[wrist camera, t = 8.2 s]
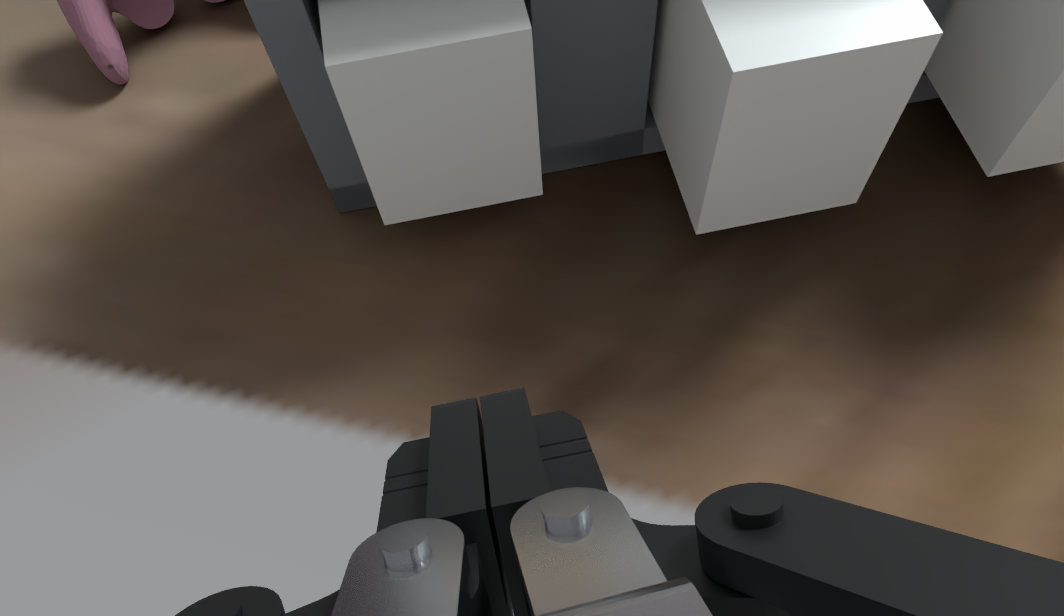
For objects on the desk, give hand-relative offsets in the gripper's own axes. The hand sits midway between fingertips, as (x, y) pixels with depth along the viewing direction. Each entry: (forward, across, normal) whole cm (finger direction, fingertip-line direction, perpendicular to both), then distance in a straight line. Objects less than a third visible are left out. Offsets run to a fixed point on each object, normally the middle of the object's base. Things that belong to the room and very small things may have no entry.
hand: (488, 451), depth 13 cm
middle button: (+19, -11, -2) cm, 22 cm away
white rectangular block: (+21, 0, -4) cm, 22 cm away
